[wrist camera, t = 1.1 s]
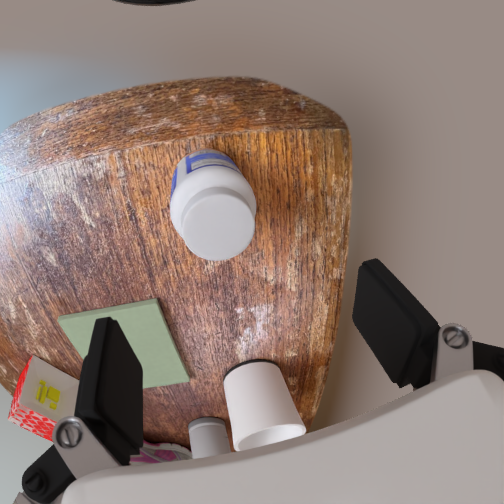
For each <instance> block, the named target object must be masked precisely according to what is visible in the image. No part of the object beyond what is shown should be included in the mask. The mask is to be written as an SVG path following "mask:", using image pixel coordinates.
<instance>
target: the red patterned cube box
mask: <svg viewBox="0 0 504 504" xmlns="http://www.w3.org/2000/svg"><path fill="white" fill-rule="evenodd" d="M78 386H79V380H77V379H75V378H73V377H71V376H70V375H68V374H66V373H64V372H62V371H60V370H59V369H57V368H55V367H53V366H52V365H50V364H48V363H46V362H45V361H43V360H41V359H40V358H38V357H36V356H35V355H32V356H31V358H30V360H29V361H28V363H27V365H26V366H25V368H24V370H23V372H22V373H21V375H20V377H19V380H18V383H17V386H16V390H15V393H14V398H13V401H12V404H11V410H10V412H9V417H8V420H9V421H11V422H13V423H15V424H17V425H19V426H20V427H22V428H24V429H27V430H29V431H30V432H33V433H35V434H37V435H39V436H41V437H43V438H45V439H48V440H50V441H52V432H53V429H54V427H55V425H56V423H57V422H58V421H59V420H61V419H62V418H64V417H68V416H74V412H75V405H76V398H77V392H78ZM52 442H53V441H52Z"/></svg>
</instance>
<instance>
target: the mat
mask: <svg viewBox="0 0 504 504" xmlns="http://www.w3.org/2000/svg"><path fill="white" fill-rule="evenodd" d="M104 317H111V318H112V319H113V320H117V321H118V323H119V325H120V327H121V329H122V331H123V332H124V334H125V336H126V338H127V340H128V342H129V344H130V346H131V347H132V349H133V351H134V353H135V355H136V356H137V358H138V360H139V362H140V363H141V365H142V369H143V388H150V387H157V386H164V385H171V384H177V383H183V382H189V381H190V376H189V374H188V372H187V370H186V367H185V365H184V363H183V361H182V359H181V356H180V354H179V352H178V349H177V347H176V345H175V342H174V340H173V338H172V335H171V333H170V330H169V328H168V325H167V323H166V320H165V318H164V315H163V313H162V310H161V308H160V305H159V303H158V300H157V298H155V299H150V300H145V301H139V302H134V303H129V304H124V305H118V306H113V307H107V308H102V309H96V310H91V311H85V312H80V313H74V314H68V315H62V316H59V318H58V322H59V324H60V326H61V327H62V329H63V330H64V332H65V333H66V335H67V337H68V338H69V340H70V341H71V343H72V344H73V346H74V347H75V348H76V350H77V351H78V353H79V354H80V356H81V357H82V358H83V360H84V358H85V356H86V355H88V350H89V345H90V341H91V337H92V332H93V328H94V324H95V321H96V319H98V318H104Z"/></svg>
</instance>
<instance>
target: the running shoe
mask: <svg viewBox="0 0 504 504" xmlns="http://www.w3.org/2000/svg"><path fill="white" fill-rule="evenodd" d="M189 459H193V457H192V452H191V451H189V450H188V449H187V448H185V447H183V446H182V447H181V446H180V445H179V444H175V443H172V444H170V443H157V444H150V443H148V442H146V441H145V440H143V447H142V448H140V455H130V462H129V463H130V464H131V465H140V464H153V463H163V462H173V461H181V460H189Z"/></svg>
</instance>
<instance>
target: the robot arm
mask: <svg viewBox="0 0 504 504" xmlns="http://www.w3.org/2000/svg"><path fill="white" fill-rule="evenodd" d="M352 318H353V322H354V324H355V326H356V327H357V329H358V330H359V332H360V333H361V335H362V336H363V338H364V339H365V341H366V342H367V344H368V345H369V347H370V348H371V350H372V351H373V353H374V354H375V356H376V358H377V359H378V361H379V362H380V364H381V365H382V367H383V368H384V370H385V372H386V373H387V374H388V376H389V378H390V379H391V381H392V382H393V383H397V385H398V386H399V388H402V387H404V386H406V385H408V384H410V383H411V384H412V386H413V392H411V393H409V394H407V395H405V396H403V397H401V398H398V399H396V400H394V401H392V402H389V403H387V404H385V405H383V406H380V407H378V408H376V409H374V410H371V411H369V412H366V413H364V414H362V415H359V416H356V417H354V418H351V419H349V420H346V421H343V422H341V423H337V424H335V425H332V426H329V427H326V428H323V429H320V430H317V431H314V432H311V433H308V434H304V435H301V436H298V437H294V438H291V439H287V440H284V441H280V442H276V443H272V444H268V445H264V446H260V447H256V448H251V449H247V450H242V451H237V452H232V453H227V454H221V455H216V456H210V457H203V458H196V459H189V460H181V461H173V462H163V463H153V464H140V465H131V464H130V463H129V462H130V455H140V448H142V447H143V369H142V365H141V363H140V362H139V360H138V358H137V356H136V355H135V353H134V351H133V349H132V347H131V346H130V344H129V342H128V340H127V338H126V336H125V334H124V332H123V331H122V329H121V327H120V325H119V323H118V321H117V320H113V319H112V318H111V317H104V318H98V319H96V321H95V324H94V328H93V332H92V337H91V341H90V345H89V350H88V355H86V356H85V358H84V360H83V365H82V370H81V375H80V381H79V386H78V392H77V398H76V405H75V412H74V416H68V417H64V418H62V419H61V420H59V421H58V422H57V423H56V425H55V427H54V429H53V432H52V441H53V443H54V444H53V445H52V446H51V447H50V448H49V449H48V450H47V451H46V452H45V453H44V454H43V455H42V456H41V457H39V458H38V459H37V460H36V461H35V462H34V463H33V464H32V465H31V466H30V467H29V468H28V469H27V470H26V471H25V472H24V474H23V477H22V487H23V490H24V491H23V493H20V492H19V493H18V495H17V497H16V499H15V501H14V503H13V504H504V348H501V347H496V346H492V345H487V344H483V343H479V342H475V341H472V337H471V335H470V333H469V331H468V330H467V329H466V328H465V327H463V326H461V325H459V324H455V323H449V324H445V325H444V326H442V327H440V326H439V325H438V322H437V321H436V320H435V319H434V318H433V317H432V315H431V314H430V313H429V312H428V311H427V310H426V309H425V308H424V307H423V306H422V304H421V303H420V302H419V301H418V300H417V299H416V298H415V297H414V296H413V295H412V294H411V293H410V291H409V290H408V289H407V288H406V287H405V286H404V285H403V284H402V283H401V282H400V281H399V280H398V279H397V278H396V277H395V276H394V275H393V274H392V273H391V272H390V271H389V270H388V269H387V268H386V266H385V265H384V264H383V263H382V262H381V261H380V260H378V259H376V258H375V259H371V260H368V261H364V262H363V263H362V266H360V267H359V270H358V279H357V287H356V294H355V301H354V308H353V314H352Z"/></svg>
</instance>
